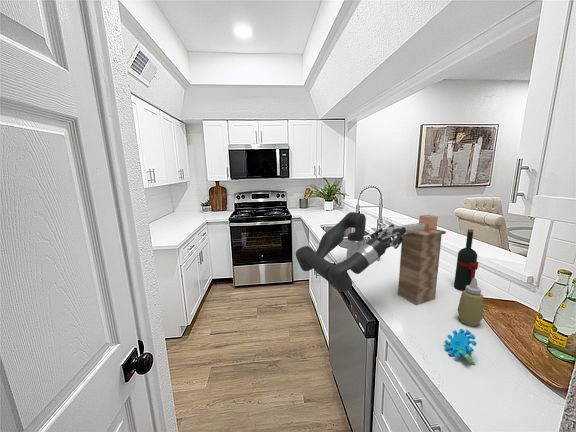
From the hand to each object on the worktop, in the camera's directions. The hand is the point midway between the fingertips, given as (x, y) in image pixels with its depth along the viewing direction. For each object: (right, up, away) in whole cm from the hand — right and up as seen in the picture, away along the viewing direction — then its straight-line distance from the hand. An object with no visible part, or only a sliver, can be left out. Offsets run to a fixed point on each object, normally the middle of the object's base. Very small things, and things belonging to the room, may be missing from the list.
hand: (398, 227), depth 104 cm
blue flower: (+9, -40, -23) cm, 47 cm away
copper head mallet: (+6, -2, +3) cm, 7 cm away
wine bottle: (+40, -31, +19) cm, 54 cm away
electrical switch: (+10, -24, +62) cm, 67 cm away
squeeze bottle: (+24, -37, -7) cm, 44 cm away
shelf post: (+13, -33, +12) cm, 37 cm away
